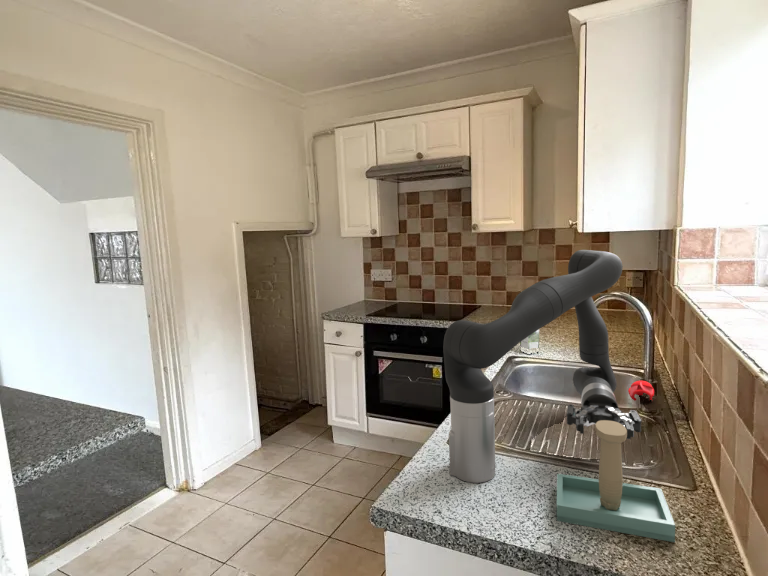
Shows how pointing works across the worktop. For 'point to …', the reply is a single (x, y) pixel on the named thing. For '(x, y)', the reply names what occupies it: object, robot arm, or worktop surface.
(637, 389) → the red lobed piece
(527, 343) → the syrup box
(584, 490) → the tray
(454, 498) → the worktop surface
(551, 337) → the worktop surface
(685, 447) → the worktop surface
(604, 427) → the handle
